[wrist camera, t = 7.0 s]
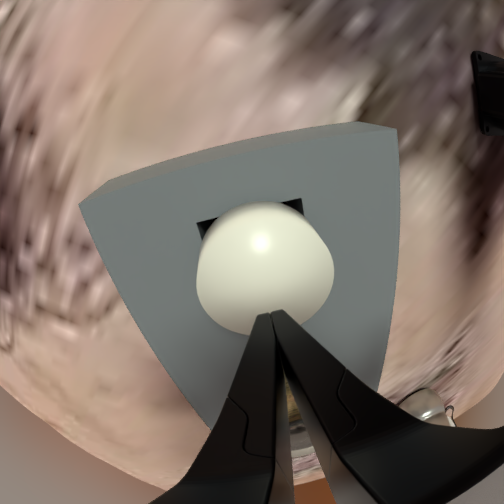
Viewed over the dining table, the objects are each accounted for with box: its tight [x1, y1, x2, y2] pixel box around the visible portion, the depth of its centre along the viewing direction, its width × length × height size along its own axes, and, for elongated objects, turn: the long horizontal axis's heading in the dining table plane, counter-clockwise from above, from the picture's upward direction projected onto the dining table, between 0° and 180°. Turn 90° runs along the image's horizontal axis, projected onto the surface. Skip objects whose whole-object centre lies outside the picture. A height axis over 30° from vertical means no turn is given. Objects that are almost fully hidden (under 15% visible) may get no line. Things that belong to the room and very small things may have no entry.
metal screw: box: [281, 361, 313, 451], centre depth 14 cm, size 3×3×5 cm
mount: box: [78, 122, 400, 431], centre depth 18 cm, size 14×26×4 cm, turn 12°
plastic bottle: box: [398, 388, 451, 426], centre depth 21 cm, size 6×7×20 cm
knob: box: [196, 201, 334, 335], centre depth 13 cm, size 5×5×6 cm
